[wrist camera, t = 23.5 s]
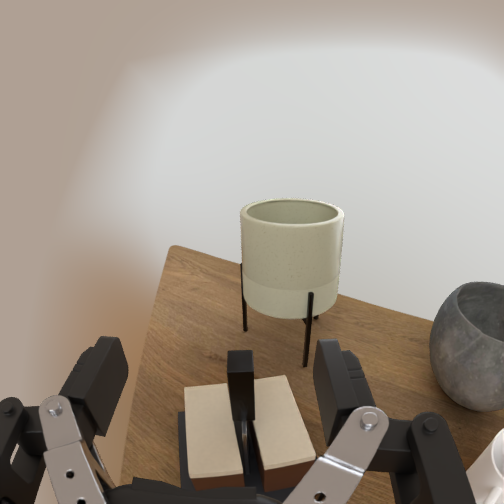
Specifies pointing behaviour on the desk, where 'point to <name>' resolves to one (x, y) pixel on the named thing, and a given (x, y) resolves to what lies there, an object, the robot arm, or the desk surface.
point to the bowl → (471, 346)
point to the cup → (489, 473)
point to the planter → (290, 259)
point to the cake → (231, 442)
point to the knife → (242, 392)
